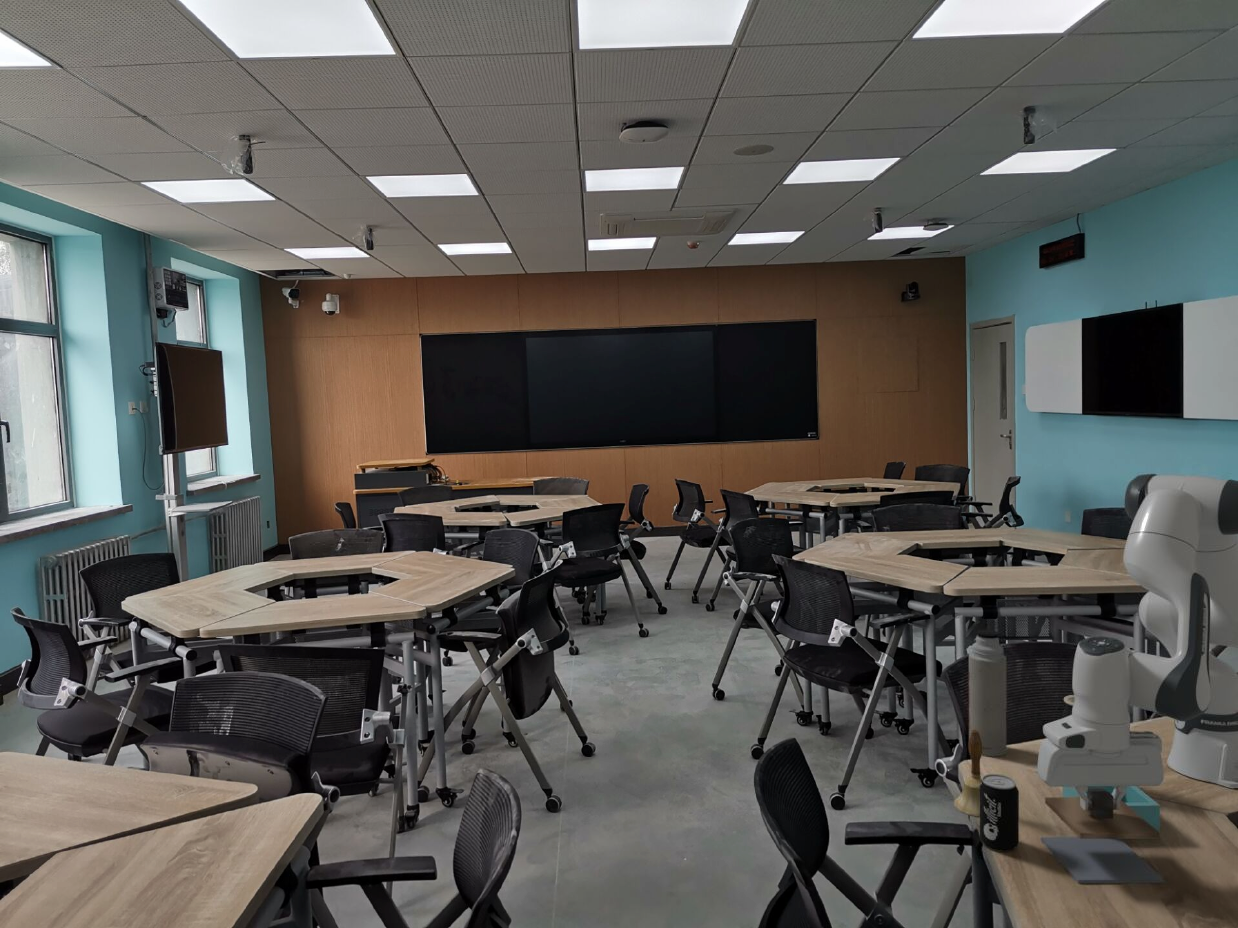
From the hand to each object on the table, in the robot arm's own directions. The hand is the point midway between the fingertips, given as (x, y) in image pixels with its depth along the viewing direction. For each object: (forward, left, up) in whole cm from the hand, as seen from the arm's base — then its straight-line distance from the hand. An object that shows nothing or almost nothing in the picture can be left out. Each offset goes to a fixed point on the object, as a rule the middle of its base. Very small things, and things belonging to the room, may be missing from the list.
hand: (1099, 808), depth 149 cm
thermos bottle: (+1, -48, -10) cm, 49 cm away
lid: (0, 0, -2) cm, 2 cm away
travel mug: (-12, -30, -10) cm, 34 cm away
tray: (0, 0, -10) cm, 10 cm away
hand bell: (+14, -20, -10) cm, 26 cm away
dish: (-9, -14, -10) cm, 19 cm away
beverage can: (+15, -6, -10) cm, 19 cm away
